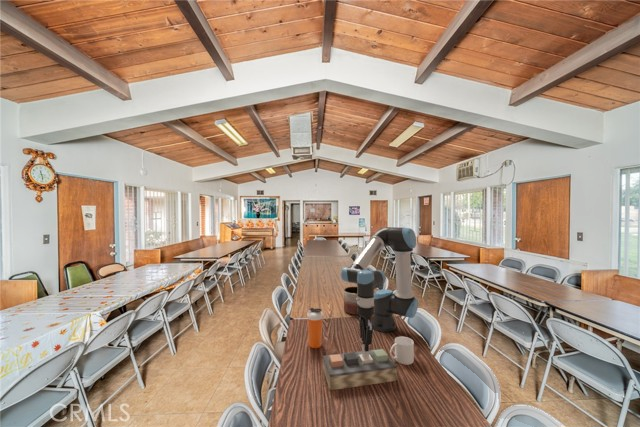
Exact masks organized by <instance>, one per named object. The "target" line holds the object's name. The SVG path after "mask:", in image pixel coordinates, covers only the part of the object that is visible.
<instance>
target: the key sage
mask: <svg viewBox="0 0 640 427" xmlns="http://www.w3.org/2000/svg"><path fill="white" fill-rule="evenodd" d="M378 349H379V350H376V349H372V350H373V357H374V359H375V360H376V362H383V361H388V356H389V355H388V354H387V352H386V351H385V350H384V349H383V348H378Z"/></svg>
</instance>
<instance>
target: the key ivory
mask: <svg viewBox="0 0 640 427" xmlns="http://www.w3.org/2000/svg"><path fill="white" fill-rule="evenodd" d="M359 360H360V361H361V363H362V364H367V363H373V359H372V357H371V356H370V354H369V357H368V358H363V356H362V354H360V355H359Z"/></svg>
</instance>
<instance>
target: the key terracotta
mask: <svg viewBox="0 0 640 427" xmlns="http://www.w3.org/2000/svg"><path fill="white" fill-rule="evenodd" d="M335 354H336V355H333V354H328V355H329V363H330V365H331V368H336V367H343V359H342V357H341V355H340V354H341V353H335Z"/></svg>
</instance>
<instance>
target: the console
mask: <svg viewBox="0 0 640 427" xmlns="http://www.w3.org/2000/svg"><path fill="white" fill-rule="evenodd" d="M379 349H380V348H377V349H375V350H379ZM373 350H374V349H369V354H370V356H371V357H372V359H373V363H367V364H362V363H361V361H360V360H359V355H360V354H362V350H361V351H353V352H355V354H356V356H357V357H358V365H352V366H347V365H346V363H345V361H344V354H345V353H346V352H344V353H343V352H342V353H339V354H340V355H341V357H342V359H343V367H336V368H331V365H330V363H329V355H330V354H327V355H323V356H322V357H323V358H322V369H323V373H324V375H325V379H326V382H327V385H328V388H329V391H334V390H342V389H347V388H354V387H356V388H357V387H364V386H369V385H376V384H383V383H390V382H396V381H397V378H398V376H397V369H398V368H397V365H396V363H395V362H394V361H393V360H392V357H391V356H390V355H388V361H383V362H376V360H375V359H374V357H373ZM353 352H349V353H353ZM336 354H337V353H334V354H332V355H336ZM390 357H391V358H390Z"/></svg>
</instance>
